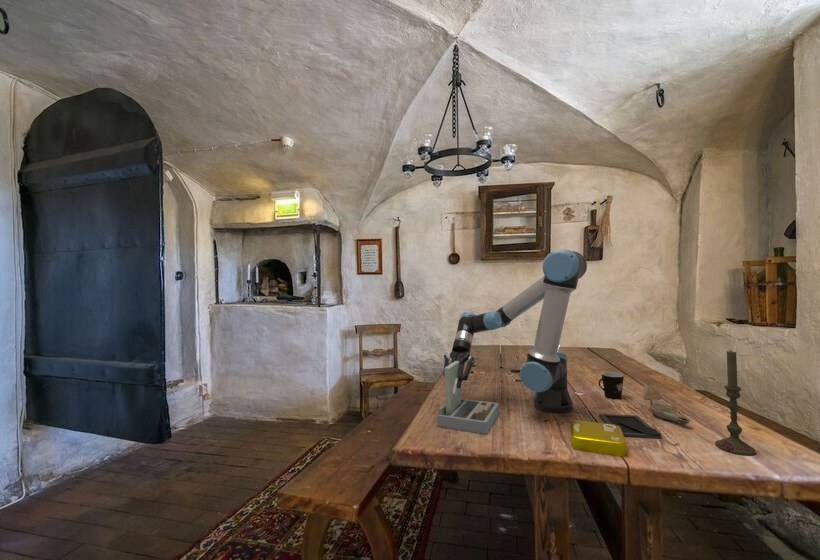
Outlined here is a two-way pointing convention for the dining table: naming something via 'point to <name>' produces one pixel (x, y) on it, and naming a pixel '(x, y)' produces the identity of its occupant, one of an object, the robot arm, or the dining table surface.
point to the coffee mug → (612, 384)
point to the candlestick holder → (733, 413)
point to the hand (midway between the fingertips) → (450, 394)
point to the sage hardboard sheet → (451, 388)
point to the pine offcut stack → (482, 412)
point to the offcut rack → (468, 417)
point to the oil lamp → (662, 407)
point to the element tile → (597, 438)
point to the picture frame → (631, 426)
